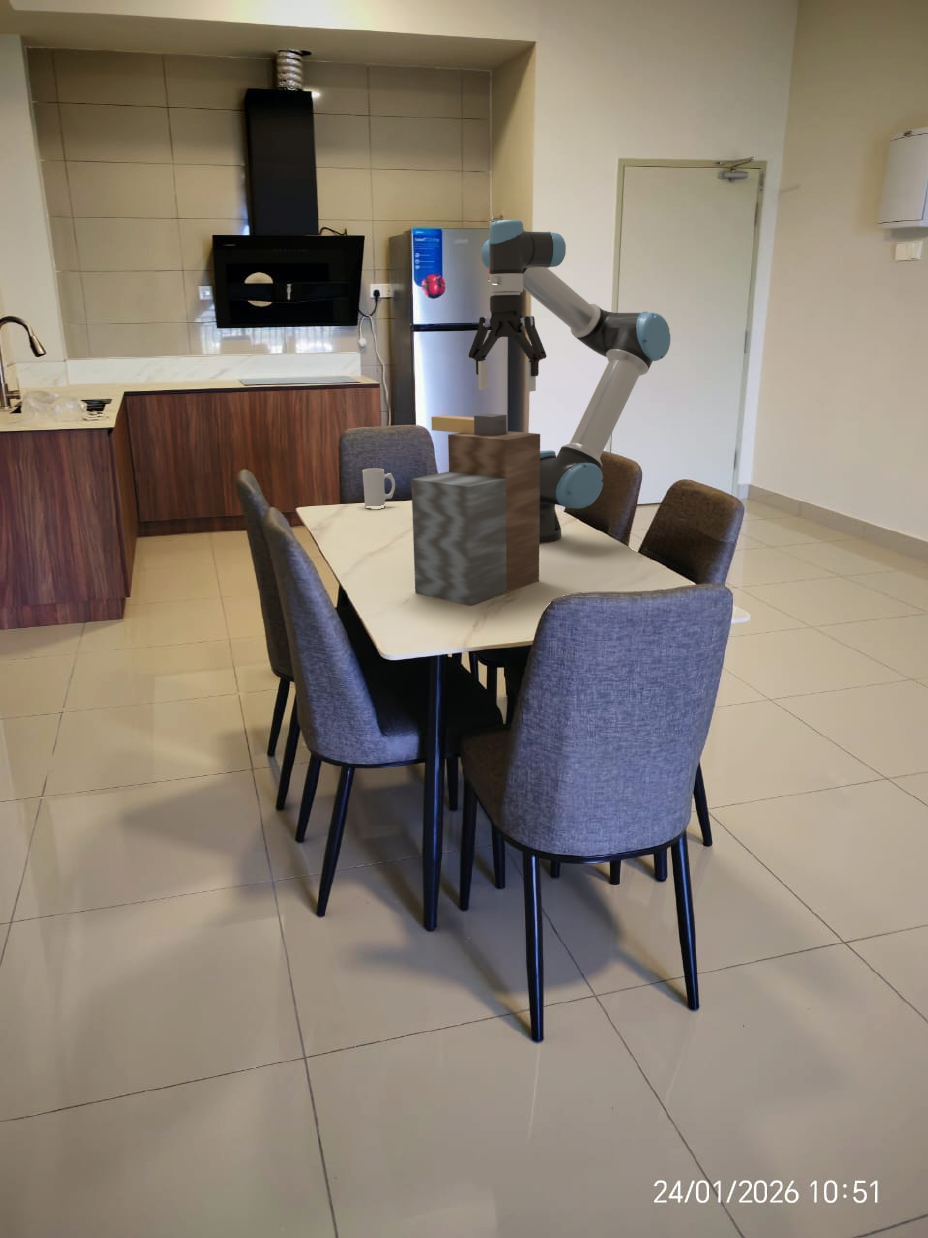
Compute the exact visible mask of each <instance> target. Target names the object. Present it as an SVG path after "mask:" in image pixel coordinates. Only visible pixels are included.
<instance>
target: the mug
mask: <svg viewBox="0 0 928 1238" xmlns="http://www.w3.org/2000/svg"><path fill="white" fill-rule="evenodd" d="M385 479H389V480H390V482H391V490H390V492H389V493H386V492H385ZM362 480H363V481H362V482H363V483H362V484H363V492H364V493H363V495H364V496H363V497H364V507H365V506H381V505H384V504H385V505H386V500H388V499H389V500H390V499H392V498H393V496H394V493H395V490H396V481H395V479H394V476H393V474H392V472H390V473H389V472H388V473H385V469H383V468H375V467H374V468H365V469H362Z"/></svg>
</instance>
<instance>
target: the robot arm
mask: <svg viewBox="0 0 928 1238" xmlns="http://www.w3.org/2000/svg"><path fill="white" fill-rule="evenodd" d="M488 237H489V238H488V239H487V240H486V241H485V242H484V244H483V246H482V248H481V252H480V253H481V254H480V255H481V256H480V257H481V261H482V263H483V265H484V266H485V267H486V269H488V270H489V292H490V293H491V294H492V295H490V297H489V311H490V314H491V315H490V317H489V316H480V317H479V321H478V328H477V330H476V333H475V336H474V339H473V342H472V344H471V347H470V349H469V352H468V358H470V359H473V360H474V361H475V372H476V373H475V374H476V375H477V376H478V377H477V378H478V390H479V391H482V390H488V388H489V378H488V377H489V376H488V371H489V370H488V369H489V368H488V366H489V365H488V364H489V363H488V360H487V359H486V357H487V356H488V354H489V353H490V352H491V350H492V348H493V347H494V345H495V344H496V343H497V341H498V340H499V339H500V338H513V340H516V342H517V344H518V346H519V347H520V348H521V350H522V351H523V353H524V354H525V355H526V357H527V359H528V361H526V392H528V393H530V392H531V393H532V392H536V389H537V387H536V386H537V385H536V384H537V382H536V381H537V377H538V376H539V373H540V372H539V369H540V368H539V366H540V365H539V364H540V361H541V360H544V359H547V356H548V355H547V353H546V350H545V347H544V345H543V343H542V341H541V337H540V335H539V332H538V330H537V327H536V319H535V316H533V315H528V316H524V317H523V311H524V298H523V297H524V296H523V295H522V294H521V293H523V292H524V291H525V292H527V293H528V295H531V297H532V298H534V299H535V300H536V301H538V303H540V304H541V305H542V306H543V307H545V308H546V309H547V310H548V311H550V312H551V313H552V314H553V315H555V317H557V318H558V319H559V320H560V321H562V323H564V324H566V325H567V326H568V327H569V328H570V332H571V334H572V336H573V337H575V338H576V339H577V340H578V341H579V342H580V343H582V344H583V345H585V346H586V347H588V348H589V349H591V350H592V351H593V352H595V353H597V354H599V355H601V356H603V357H605V358H607V365H606V368H605V369H604V371H603V373H602V375H601V377H600V380H599V382H598V384H597V385H596V388H595V389H594V392H593V394H592V396H591V398H590V400H589V403H588V405H587V406H586V408H585V411H584V412H583V414H582V417H581V419H580V421H579V423H578V425H577V427H576V429H575V432H574V434H573V436H572V438H571V440H570V442H569V443H568V444H564V445H562V446H561V447H560V449H559V451H558V453H556V451H554V450H540V526H539V544H545V543H551V542H556V541H558V540H560V539H561V538H562V527H561V525H560V521H559V518H558V515H557V511H556V506H561V507H563V508H566V509H584V508H586V507H587V508H588V507H589V506H591V505H592V504H593V503H594V502H595V501H596V500H597V498H599V496H600V494H601V492H602V490H603V486H604V482H603V481H602V480H603V479H604V475H603V472H602V468H603V463H602V461H601V456H602V454H603V452H604V451H605V448H606V447H607V444H608V442H609V440H610V438H611V435H612V433H613V431H614V429H615V427H616V426H617V423H618V421H619V419H620V417H621V415H622V412H623V410H624V408H625V406H626V405H627V402H628V401H629V398H630V396H631V395H632V392H633V389H634V388H635V385H636V383H637V381H638V379H639V377H640V376H643V375H646V374H647V373H648V372H649V370H650V368H651V365H652V364H653V362H658V361H660V360H662V359H664V358H665V357H666V355H667V354H668V351H669V350H670V345H671V333H670V327H669V324H668V322H667V319H665V318H664V317H663V315H661V314H659V313H657V312H649V311H643V312H612V311H608V310H605V309H602V308H601V307H600V306H599V305H597V304H596V303H590V302H588V301H586V300H585V298H583V297H582V296H581V295H579V294H578V293H577V292H576V291H575V290H573V288H571V286H569V285H568V284H567V283H566V282H565V281H563V280H562V279H561V278H560V277H559V276H557V275H556V274H555V273H554V272H553V271H552V270H551V269H549V268H557V267H559V266H560V265H561V264H562V263H563V261H564V259H565V256H566V255H567V254H566V253H567V251H566V250H567V248H566V247H567V246H566V245H567V244H566V241H565V239H564V237H563V236H562V235H561V234H560V233H558V232H551V231H526V230H525V229H524V223H523V221H522V220H518V219H502V220H499V219H498V220H495V221H493V222H491V224H490V226H489V236H488ZM490 326H491V330H490V331H489V328H490ZM522 326H523V327H524V328H525V329H524V330H525V332H526V333H525V332H524V330H523V329H522ZM488 331H489V333H488ZM487 335H488V336H487ZM526 335H527V336H526ZM486 337H487V338H486ZM527 337H528V338H527ZM556 454H557V455H556Z"/></svg>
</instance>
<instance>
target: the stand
mask: <svg viewBox="0 0 928 1238" xmlns="http://www.w3.org/2000/svg"><path fill="white" fill-rule="evenodd" d="M447 439H448V440H447V441H448V442H447V443H448V445H447V446H448V471H444V472H440V473H435V474H430V475H424V476H420V477H415V478H411V485H410V486H411V506H412V507H411V508H412V534H413V535H412V537H413V539H412V540H413V541H412V542H413V560H414V561H413V564H414V565H413V566H414V568H413V569H414V592H415V594H416V593H417V594H418V595H423V596H424V595H425V596H428V597H432V598H435V599H439V600H441V599H442V600H445V601H448V600H449V602H453V603H457V604H461V605H465V604H466V606H470V607H471V606H472V607H473V606H475V605H477V604H480V603H482V602H486V601H488V600H490V598H491V599H493V597H494V598H496V597H498V595H499V596H501V595H500V594H502V595H504V594H507V593H509V592H508V591H510V592H512V591H511V590H513V591H515V590H517V589H520V588H523V587H526V586H528V585H531V584H534V583H537V582H539V581H540V543H539V526H540V451H541V433H534V432H524V431H523V432H522V431H511V430H509V431H508V430H507V434H501V435H495V436H487V435H475V434H468V433H457V432H455V433H449V434H448V435H447ZM506 592H507V593H506ZM503 593H504V594H503ZM495 596H496V597H495ZM474 604H475V605H474Z"/></svg>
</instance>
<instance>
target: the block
mask: <svg viewBox="0 0 928 1238" xmlns="http://www.w3.org/2000/svg"><path fill="white" fill-rule="evenodd" d="M507 416H508V415H507V414H502V413H501V414H499V413H484V414H476V415H473V417H472V416H460V415H459V416H457V415H446V414H443V415H442V414H441V415H436V416H435V415H434V416H431V431H437V432H447V433H468V434H475V435H487V436H495V435H501V434H507V431H508V429H507V424H508V423H507V421H508V420H507V418H508V417H507Z"/></svg>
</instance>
